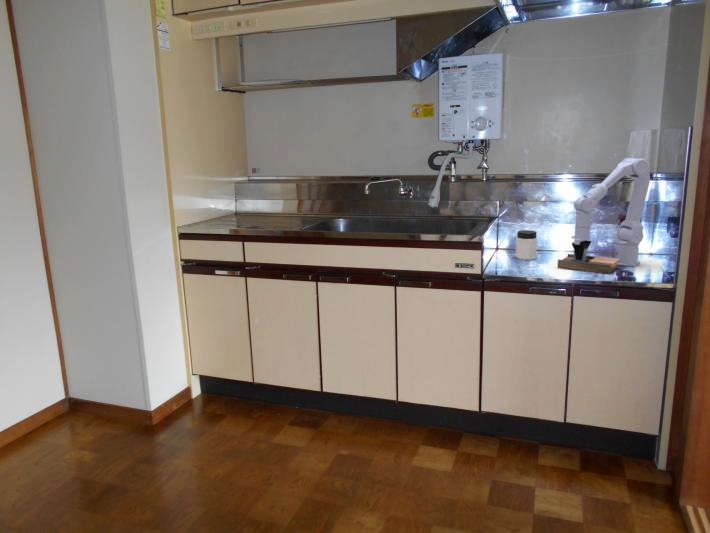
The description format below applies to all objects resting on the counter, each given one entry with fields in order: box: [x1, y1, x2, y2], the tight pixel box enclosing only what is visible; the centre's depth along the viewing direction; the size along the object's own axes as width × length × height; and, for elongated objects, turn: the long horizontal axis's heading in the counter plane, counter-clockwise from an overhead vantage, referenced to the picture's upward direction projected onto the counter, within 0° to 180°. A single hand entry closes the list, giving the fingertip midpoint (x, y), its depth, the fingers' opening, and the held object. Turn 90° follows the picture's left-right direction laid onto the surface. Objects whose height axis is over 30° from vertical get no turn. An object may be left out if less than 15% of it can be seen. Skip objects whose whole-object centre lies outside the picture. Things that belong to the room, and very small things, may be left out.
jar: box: [515, 229, 538, 261], centre depth 248 cm, size 9×8×12 cm
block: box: [573, 248, 588, 262], centre depth 229 cm, size 4×4×6 cm
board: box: [557, 253, 619, 275], centre depth 228 cm, size 14×20×4 cm
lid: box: [589, 255, 620, 267], centre depth 224 cm, size 11×9×2 cm
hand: (580, 258), depth 229 cm, fingers closed on block, 4 cm apart
